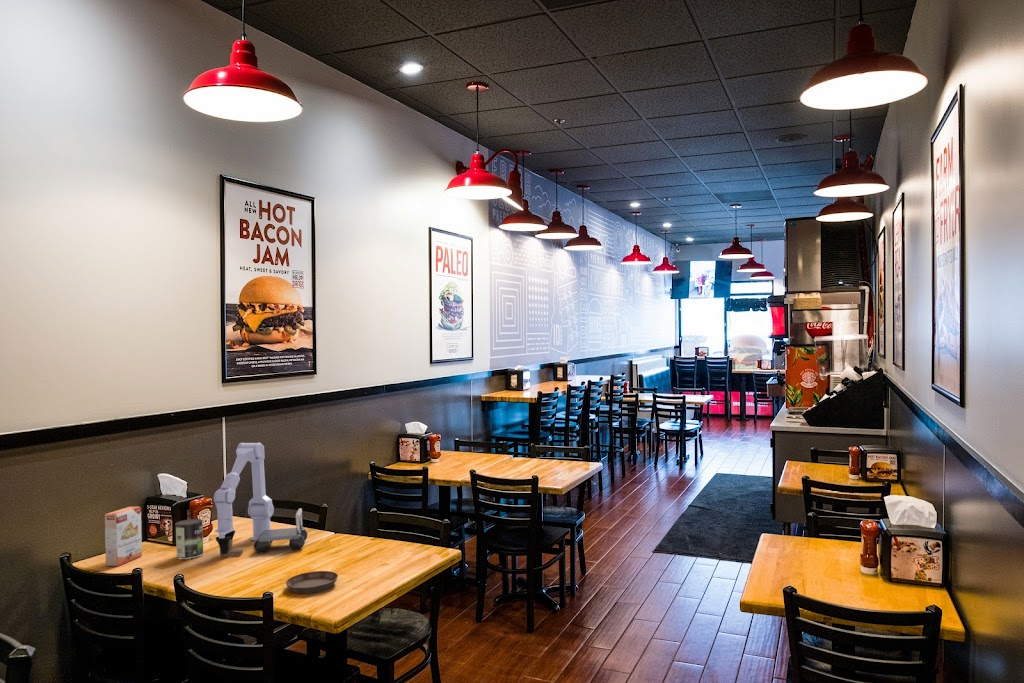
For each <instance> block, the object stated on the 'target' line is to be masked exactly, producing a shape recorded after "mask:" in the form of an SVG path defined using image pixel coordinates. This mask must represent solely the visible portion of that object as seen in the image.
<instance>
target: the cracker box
mask: <svg viewBox="0 0 1024 683" xmlns="http://www.w3.org/2000/svg"><path fill="white" fill-rule="evenodd" d="M142 536H143V535H142V507H141V506H126V507H124V508H120V509H117V510H114V511H112V512H111V511H110V512H108V513H107V512H106V513H105V514H104V540H105V542H104V544H105V545H104V546H105V548H104V549H105V567H120V566H122V565H124V563H125V564H127V563H129V562H132V561H134V560H136V559H135V558H137V559H139V558H141V557H140V556H143V545H142V540H143V539H142ZM138 557H139V558H138ZM133 559H134V560H133ZM131 560H132V561H131Z"/></svg>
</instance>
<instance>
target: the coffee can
mask: <svg viewBox="0 0 1024 683" xmlns="http://www.w3.org/2000/svg"><path fill="white" fill-rule="evenodd" d="M174 526H175V542H176V543H175V544H176V546H175V547H176V559H177V558H178V559H177V560H181V559H185V560H192V559H191V558H193V559H196V557H197V558H200V557H202V556H204V554H205V552H204V538H203V537H204V533H203V529H204V528H203V526H204V525H203V519H202V518H190V519H184V520H179V521H177V522H175V523H174ZM201 555H202V556H201ZM199 556H200V557H199Z"/></svg>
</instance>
